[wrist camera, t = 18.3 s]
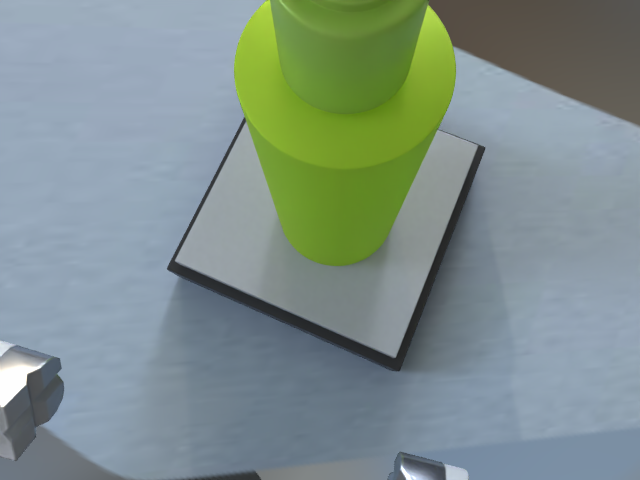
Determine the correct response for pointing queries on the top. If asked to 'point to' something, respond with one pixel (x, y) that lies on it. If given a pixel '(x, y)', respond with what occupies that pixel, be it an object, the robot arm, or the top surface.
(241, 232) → the kitchen scale
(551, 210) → the top surface
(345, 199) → the soap dispenser
